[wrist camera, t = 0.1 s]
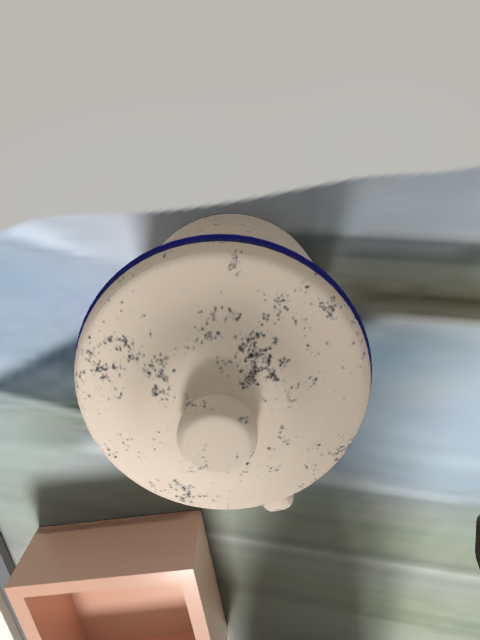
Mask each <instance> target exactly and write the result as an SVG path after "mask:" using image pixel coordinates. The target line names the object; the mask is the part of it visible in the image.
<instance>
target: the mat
mask: <svg viewBox="0 0 480 640" xmlns="http://www.w3.org/2000/svg"><path fill="white" fill-rule="evenodd" d="M14 570H15V567H14V564H13V562H12V560H11V557H10V555H9V553H8V550H7V548H6V546H5V543H4V541H3V539H2V536H1V534H0V591H1V593H2V595H3V597H4V600H5V602H6V604H7V606H8V608H9V611H10V613H11V615H12V617H13V619H14V622H15V624H16V626H17V628H18V631H19V633H20V635H21V637H22V639H23V640H27V638H26V636H25V634H24V632H23V630H22V627H21V625H20V623H19V621H18V618H17V616H16V614H15V612H14V609H13V607H12V605H11V603H10V601H9V598H8V596H7V594H6V592H5V589H4V587H5V585H6V584H7V582H8V580H9V578H10V577H11V575H12V573H13V571H14Z"/></svg>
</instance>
